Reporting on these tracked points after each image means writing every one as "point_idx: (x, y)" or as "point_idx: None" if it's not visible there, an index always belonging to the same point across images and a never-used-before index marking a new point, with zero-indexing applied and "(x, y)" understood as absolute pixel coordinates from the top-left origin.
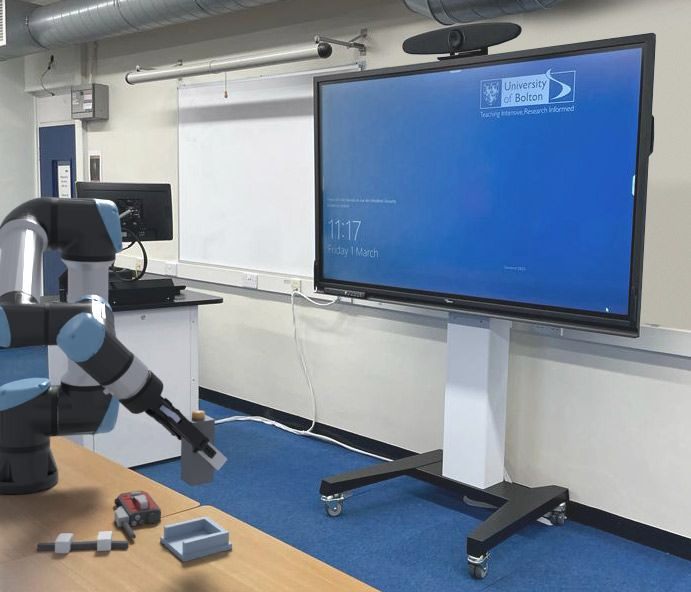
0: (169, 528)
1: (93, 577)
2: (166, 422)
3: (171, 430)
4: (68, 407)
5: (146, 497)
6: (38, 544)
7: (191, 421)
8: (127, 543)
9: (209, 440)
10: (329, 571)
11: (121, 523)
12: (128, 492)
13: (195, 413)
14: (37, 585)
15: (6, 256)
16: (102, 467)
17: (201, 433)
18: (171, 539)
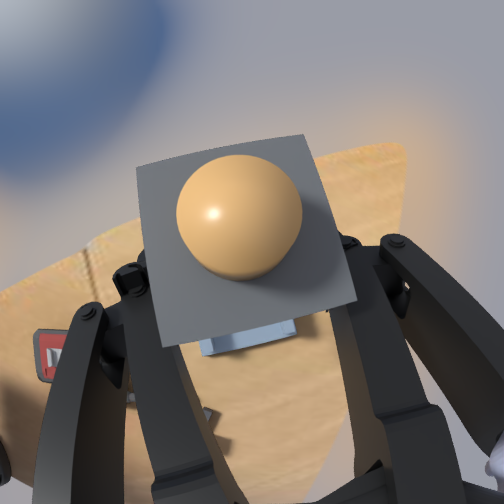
0: (211, 344)
1: (298, 461)
2: (225, 464)
3: (200, 404)
4: None
5: (58, 340)
6: None
7: (316, 301)
8: (210, 412)
9: (400, 235)
10: (373, 149)
11: (127, 402)
12: (35, 360)
13: (287, 247)
14: None
15: None
16: None
17: (442, 272)
18: (221, 340)
